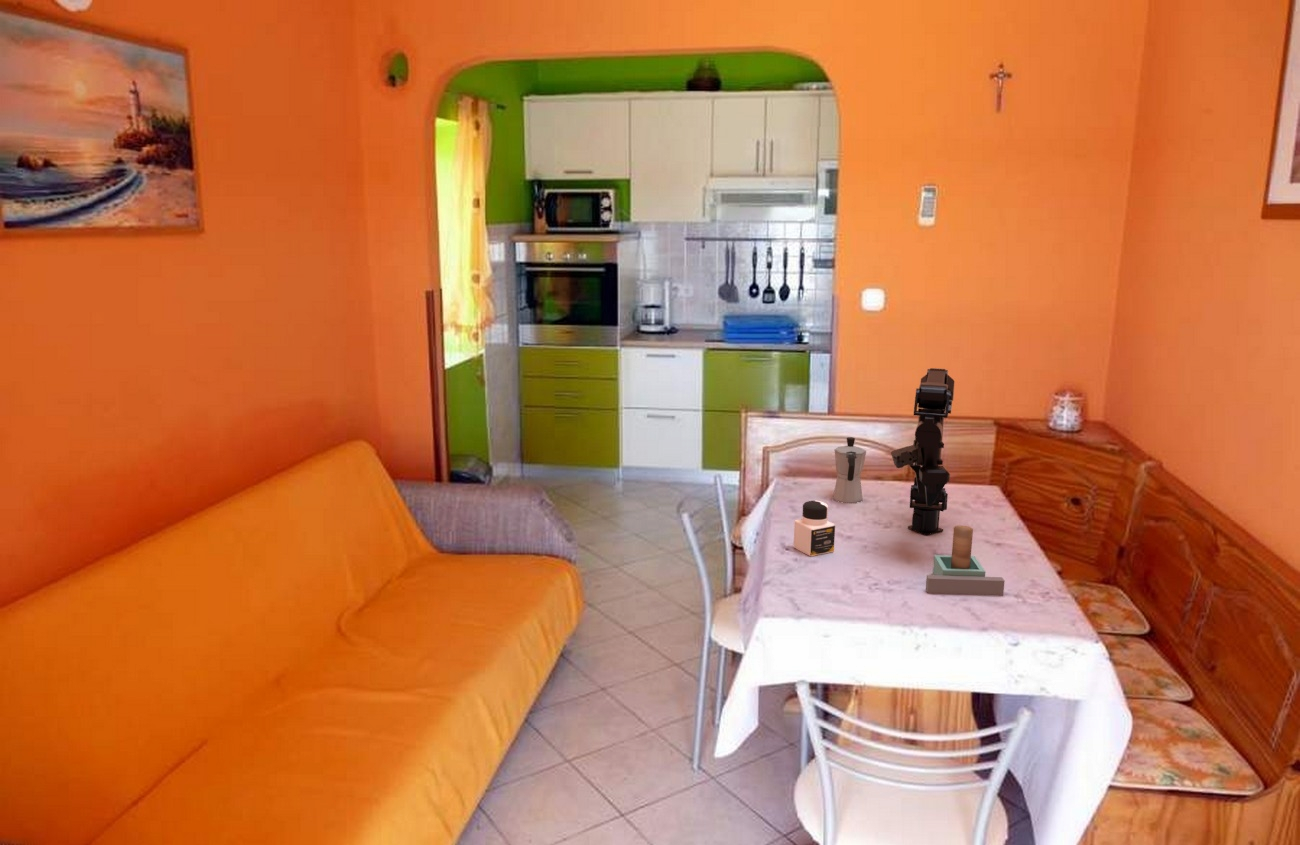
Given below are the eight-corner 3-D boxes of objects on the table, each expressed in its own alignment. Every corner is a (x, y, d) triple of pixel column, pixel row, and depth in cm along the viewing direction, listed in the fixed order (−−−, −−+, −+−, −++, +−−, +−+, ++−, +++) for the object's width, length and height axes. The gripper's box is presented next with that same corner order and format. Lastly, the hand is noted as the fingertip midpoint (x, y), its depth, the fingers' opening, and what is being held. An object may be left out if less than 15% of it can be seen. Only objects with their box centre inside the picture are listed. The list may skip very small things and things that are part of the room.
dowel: (952, 574, 211) (956, 524, 208) (970, 578, 209) (974, 527, 206) (947, 581, 208) (951, 529, 205) (966, 584, 206) (970, 532, 203)
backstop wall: (925, 589, 206) (926, 574, 205) (1000, 592, 205) (1001, 577, 204) (927, 593, 204) (928, 578, 203) (1003, 596, 203) (1004, 580, 202)
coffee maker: (831, 491, 275) (833, 431, 271) (861, 492, 274) (865, 432, 269) (833, 507, 260) (836, 444, 256) (865, 509, 259) (869, 446, 255)
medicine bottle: (810, 557, 224) (812, 509, 222) (792, 547, 231) (794, 500, 228) (834, 552, 228) (836, 504, 225) (816, 542, 234) (818, 496, 231)
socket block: (932, 573, 214) (934, 555, 213) (972, 574, 214) (974, 556, 213) (941, 589, 206) (943, 570, 205) (983, 590, 205) (985, 571, 204)
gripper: (888, 427, 231) (884, 487, 235) (902, 446, 213) (898, 511, 217) (934, 427, 231) (929, 488, 234) (952, 447, 212) (947, 513, 216)
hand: (925, 500), depth 225 cm, fingers open, 9 cm apart
